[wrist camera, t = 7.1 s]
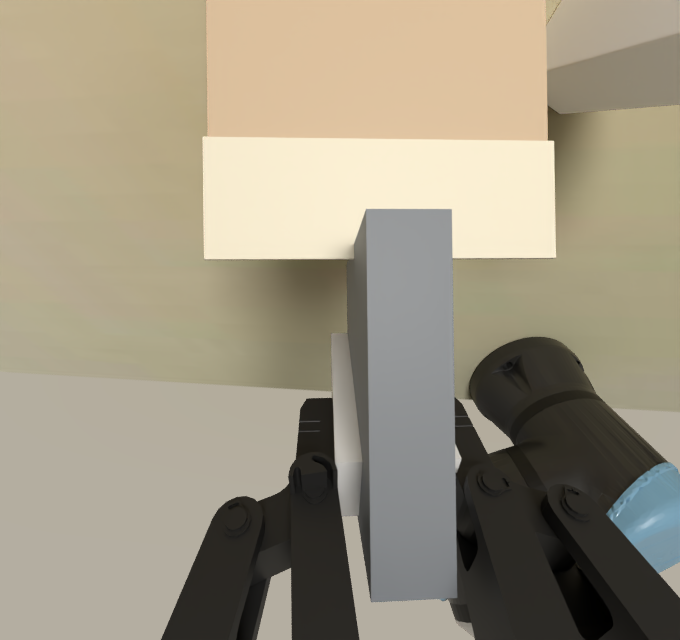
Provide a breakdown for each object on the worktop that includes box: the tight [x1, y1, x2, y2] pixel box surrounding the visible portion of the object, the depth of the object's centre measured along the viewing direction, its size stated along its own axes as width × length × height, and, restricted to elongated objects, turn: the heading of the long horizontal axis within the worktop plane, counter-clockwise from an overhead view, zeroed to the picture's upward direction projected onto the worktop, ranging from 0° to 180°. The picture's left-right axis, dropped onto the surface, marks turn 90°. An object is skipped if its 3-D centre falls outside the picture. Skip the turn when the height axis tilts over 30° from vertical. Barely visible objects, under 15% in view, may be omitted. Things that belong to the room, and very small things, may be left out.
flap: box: [203, 0, 556, 602], centre depth 11 cm, size 32×12×7 cm, turn 179°
